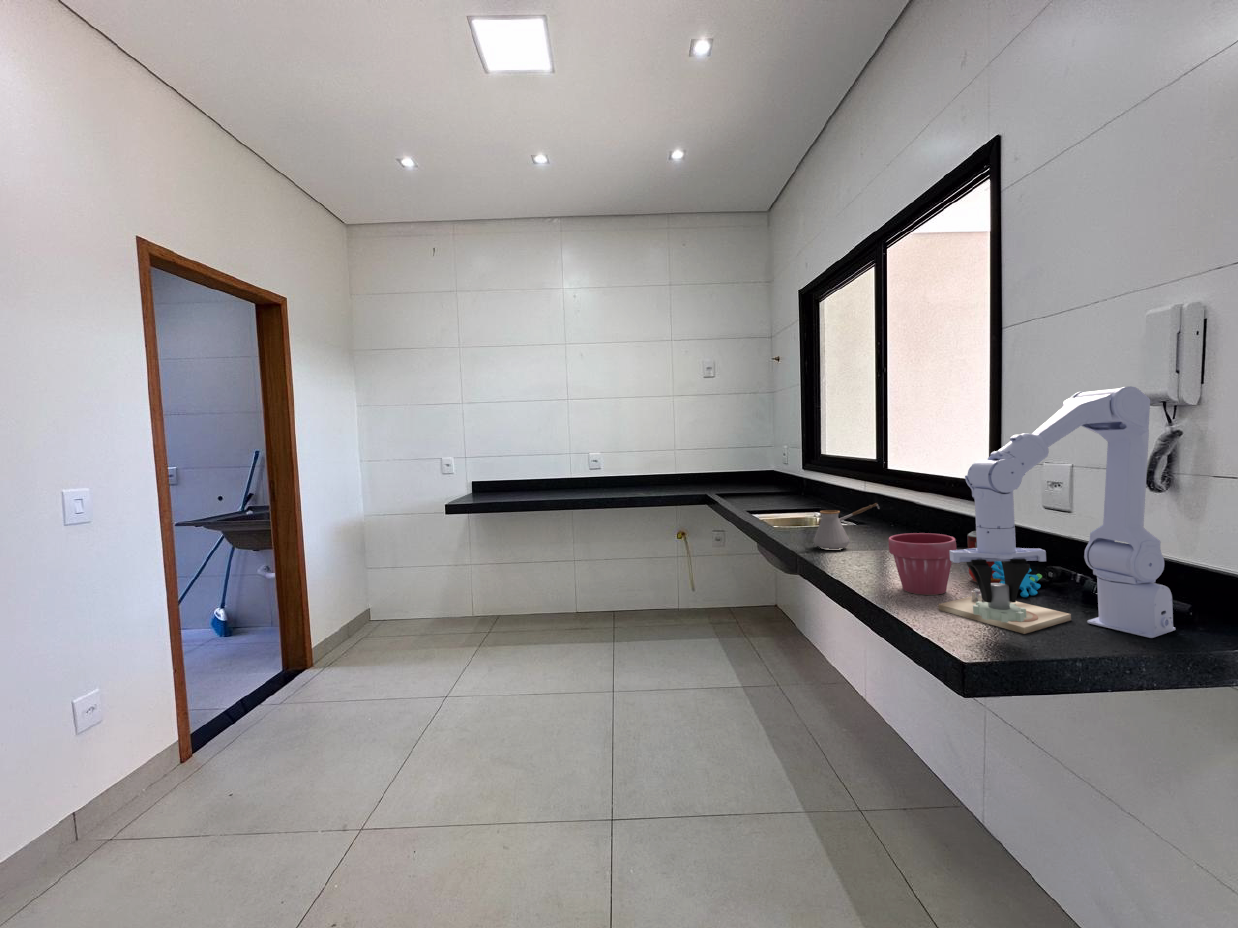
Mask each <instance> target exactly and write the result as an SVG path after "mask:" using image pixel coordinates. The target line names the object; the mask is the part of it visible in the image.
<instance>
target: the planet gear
mask: <svg viewBox="0 0 1238 928" xmlns="http://www.w3.org/2000/svg"><path fill="white" fill-rule="evenodd" d="M991 594H992V601H991V602H980V601H978V602H976V605H973V613H974V615H980V616H982V618H983V619H986V620H988V619H992V620H998V621H1001V622H1006V623H1008V621H1019V622H1022V621H1024V618H1026V609H1025V608H1020V607H1018V606H1016V604H1013V603H1010V596H1009V585H1006V584H1002V583H991Z"/></svg>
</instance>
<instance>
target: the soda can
mask: <svg viewBox="0 0 1238 928" xmlns="http://www.w3.org/2000/svg"><path fill="white" fill-rule="evenodd" d="M966 536H967V549H973V548H977V536H976V530H973V531H971V532H969V533H967V535H966ZM986 563H988V566H990V567H991V566H993V565H994V564H995V563H994V561H986ZM997 566H998V565H997ZM998 568H999V569H1000V567H999V566H998ZM1000 570H1001V569H1000ZM994 572H996V571H994V570H992V574H993V573H994ZM968 573H969V575H970V577H971V579H972V581H973V582H974V583H977V581H976V579H975V577H974V575H973V573H972V572H971V570H970V568H969V567H968ZM997 573H998V572H997ZM1000 581H1002V579H994V578H993V576H992V575H991V583H999V582H1000Z"/></svg>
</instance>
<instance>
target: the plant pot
mask: <svg viewBox="0 0 1238 928" xmlns="http://www.w3.org/2000/svg"><path fill="white" fill-rule="evenodd" d="M956 541H957V539H956V538H955V537H954V536H950V535H947V534H942V533H941V534H940V533H931V532H930V533H929V532H928V533H925V532H919V533H917V532H913V533H912V532H911V533H900V534H894V535H891V536H889V537H888V552H889V553H890V554H891V555H892V556H893V559H894V562H895V563H894V564H895V566H896V570H897V573H898V577H899V579H900V580H899V581H900V583H901V587H902V590H903V591H905V592H908V593H910V594H915V595H923V596H936V595H942V594H945V593H946V592H947V587H948V583H949V578H950V573H951V568H952V563H953V562H952V561H950V552H949V551H950V550H957V542H956Z"/></svg>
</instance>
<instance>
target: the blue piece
mask: <svg viewBox="0 0 1238 928" xmlns="http://www.w3.org/2000/svg"><path fill="white" fill-rule="evenodd" d="M994 563H995V564H994V565H993V566H991V567H992V568H993V569H992V570H994V571H996V572H994V573H993V574H992V576H993V578H994V579H1001V580H1000V582H999V583H1002V584H1005V578H1004V572H1003V567H1002V563H1001V561H994ZM997 565H998V566H999V567H1000V569H1001V570H1000V569H999V568H998V566H997ZM997 572H998V573H997ZM1030 572H1032V569H1031V568H1030V570H1029V571H1028V573H1027V574H1026V575H1025V577H1024V579H1023V581H1022V583H1021V585H1020V587H1019V590H1021V592H1020V593H1019V595H1020V596H1021V597H1022V598H1028V597H1029V595H1030V596H1036V595H1037V594H1039V593H1038V591H1037V590H1039V589H1040V588H1041V584H1040V583H1037V582H1038V581H1039V580H1040V579H1042V578H1043V575H1042V574H1040V573H1037V574H1030ZM1027 590H1028V591H1027Z"/></svg>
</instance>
